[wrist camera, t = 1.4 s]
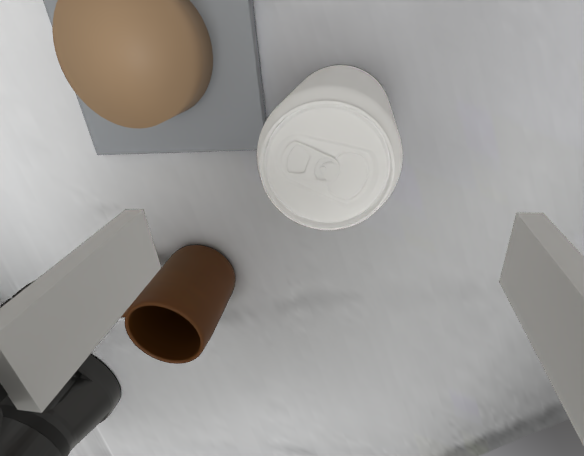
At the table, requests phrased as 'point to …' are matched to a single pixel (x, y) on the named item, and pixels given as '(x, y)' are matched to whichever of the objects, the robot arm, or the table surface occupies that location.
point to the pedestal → (162, 73)
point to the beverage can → (331, 150)
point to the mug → (181, 305)
